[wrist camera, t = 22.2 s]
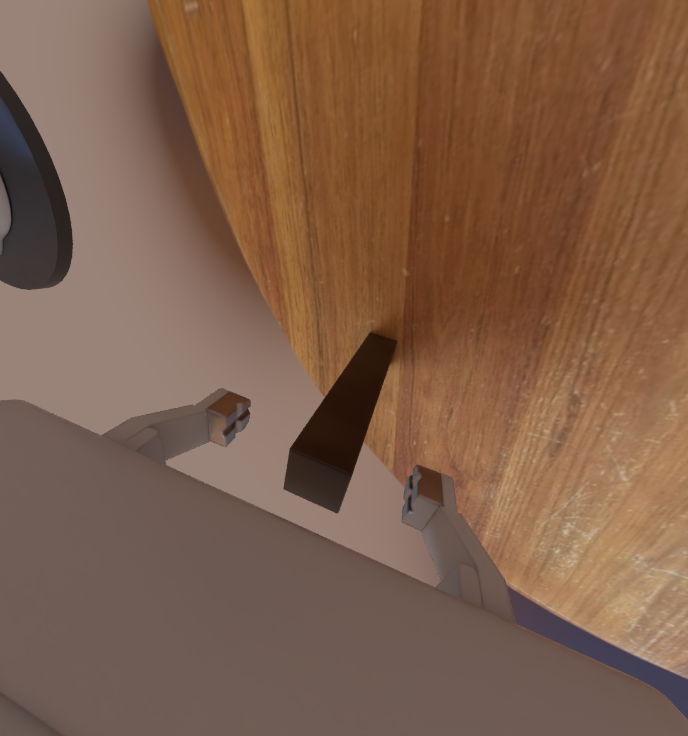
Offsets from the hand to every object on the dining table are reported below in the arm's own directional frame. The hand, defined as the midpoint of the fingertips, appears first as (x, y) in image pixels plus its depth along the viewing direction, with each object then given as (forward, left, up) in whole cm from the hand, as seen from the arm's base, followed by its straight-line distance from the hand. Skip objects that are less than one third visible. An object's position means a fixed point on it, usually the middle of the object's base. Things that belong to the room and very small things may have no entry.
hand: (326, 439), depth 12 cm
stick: (0, 0, -12) cm, 12 cm away
